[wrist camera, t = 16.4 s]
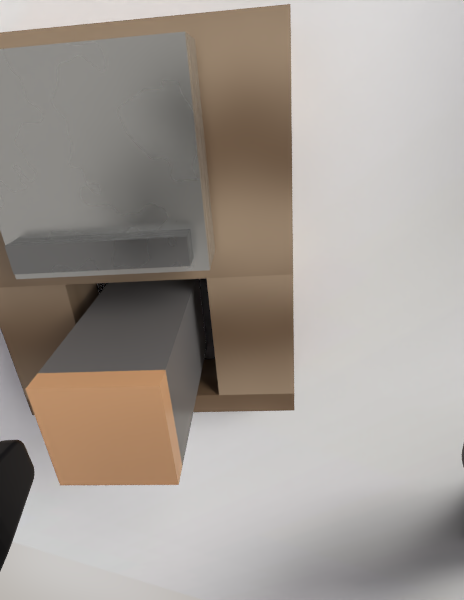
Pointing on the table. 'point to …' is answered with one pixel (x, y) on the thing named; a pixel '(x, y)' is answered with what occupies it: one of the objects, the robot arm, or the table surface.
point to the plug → (124, 386)
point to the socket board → (224, 207)
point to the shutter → (104, 158)
